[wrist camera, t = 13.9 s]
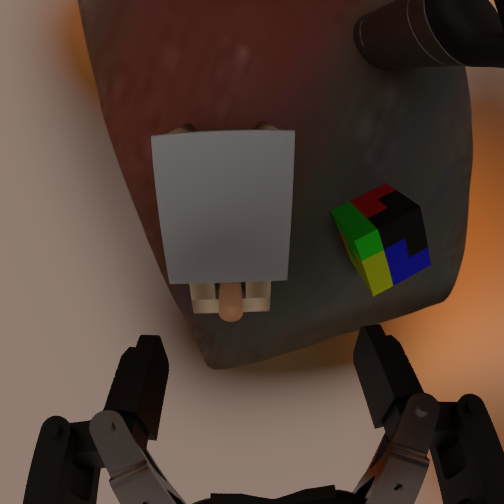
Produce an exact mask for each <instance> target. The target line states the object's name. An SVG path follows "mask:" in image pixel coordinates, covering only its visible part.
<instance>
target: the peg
mask: <svg viewBox="0 0 504 504" xmlns="http://www.w3.org/2000/svg"><path fill="white" fill-rule="evenodd" d="M242 315H243V303H242V287H241V282H232V283H220V291H219V316H220V317H221V318H222V319H223V320H225V321H229V322H233V321H237V320H239V319H240V318H241V317H242Z"/></svg>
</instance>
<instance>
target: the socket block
mask: <svg viewBox="0 0 504 504" xmlns="http://www.w3.org/2000/svg"><path fill="white" fill-rule="evenodd" d="M189 285H190V292H191V299H192V305H193V312H194V313H219V291H220V284H217V283H195V284H189ZM241 287H242V303H243V312H255V311H270V292H271V281H260V282H245V283H241Z"/></svg>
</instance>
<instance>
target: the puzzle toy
mask: <svg viewBox="0 0 504 504" xmlns="http://www.w3.org/2000/svg"><path fill="white" fill-rule="evenodd" d="M331 213H332V215H333V218H334V220H335V223H336V225H337V227H338V230H339V232H340V235H341V237H342V240H343V242H344V245H345V247H346V250H347V252H348V255H349V258H350V260H351V262H352V263H353V265H354V266H355V268H356V270H357V271H358V273H359V274H360V276H361V277H362V279H363V281H364V282H365V284H366V285H367V287H368V288H369V290H370V292H371V293H372V295H373V296H375V295H377V294H379V293H381V292H383V291H384V290H386V289H388V288H390V287H392V286H394V285H396V284H397V283H399V282H401V281H403V280H405V279H406V278H408V277H410V276H412V275H414V274H415V273H417V272H419V271H421V270H422V269H424V268H426V267H427V266H429V265H430V258H429V251H428V245H427V239H426V233H425V228H424V223H423V218H422V213H421V209H420V206H419V205H417V204H416V203H414V202H413V201H411V200H410V199H409V198H407V197H406V196H404V195H403V194H401V193H400V192H398V191H397V190H395V189H394V188H392V187H391V186H389V185H388V184H386V183H385V184H383V185H381V186H379V187H377V188H375V189H373V190H371V191H369V192H367V193H365V194H363V195H361V196H359V197H357V198H355V199H353V200H351V201H349V202H347V203H345V204H343V205H341V206H339V207H337V208H335V209H333V210H331Z"/></svg>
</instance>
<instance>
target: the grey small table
mask: <svg viewBox="0 0 504 504" xmlns="http://www.w3.org/2000/svg"><path fill="white" fill-rule="evenodd" d="M151 143H152V155H153V167H154V177H155V186H156V195H157V204H158V212H159V219H160V227H161V234H162V240H163V247H164V253H165V260H166V266H167V271H168V277H169V283H170V284H195V283H232V282H260V281H283V280H287V274H288V260H289V245H290V230H291V213H292V194H293V172H294V146H295V131H294V130H280V129H278V128H276V127H275V126H273V125H271V124H269V123H268V122H265V121H262V122H259V123H258V124H257V126H256V129H245V130H212V131H195V128H194V126H193V125H191V124H185V125H183V126H181V127H179V128H177V129H175V130H173V131H171V132H169V133H167V134H158V135H153V136H151Z"/></svg>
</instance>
